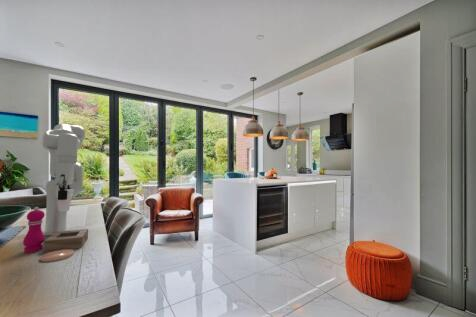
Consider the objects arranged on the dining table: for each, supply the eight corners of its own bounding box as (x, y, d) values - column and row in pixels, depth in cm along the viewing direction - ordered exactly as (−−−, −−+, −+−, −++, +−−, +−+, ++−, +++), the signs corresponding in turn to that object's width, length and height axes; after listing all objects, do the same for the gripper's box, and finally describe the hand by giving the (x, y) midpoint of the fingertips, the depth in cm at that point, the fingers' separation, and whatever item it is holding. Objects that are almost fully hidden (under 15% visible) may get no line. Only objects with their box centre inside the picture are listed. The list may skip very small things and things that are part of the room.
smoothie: (52, 212, 91) (54, 180, 92) (57, 210, 97) (58, 180, 98) (71, 211, 94) (72, 180, 95) (74, 209, 100) (75, 180, 101)
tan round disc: (45, 254, 92) (45, 251, 92) (76, 249, 97) (76, 247, 97) (35, 263, 82) (35, 261, 83) (70, 258, 87) (70, 256, 87)
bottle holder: (55, 241, 108) (55, 231, 108) (87, 237, 114) (88, 228, 115) (43, 252, 94) (44, 241, 94) (81, 247, 100) (81, 237, 100)
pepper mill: (30, 254, 92) (33, 208, 93) (17, 252, 93) (21, 207, 95) (48, 248, 99) (50, 206, 100) (36, 246, 101) (39, 205, 102)
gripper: (61, 161, 103) (59, 197, 102) (50, 159, 88) (47, 201, 86) (80, 161, 107) (78, 196, 105) (72, 159, 91) (69, 200, 90)
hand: (64, 198), depth 96 cm, fingers closed on smoothie, 6 cm apart
